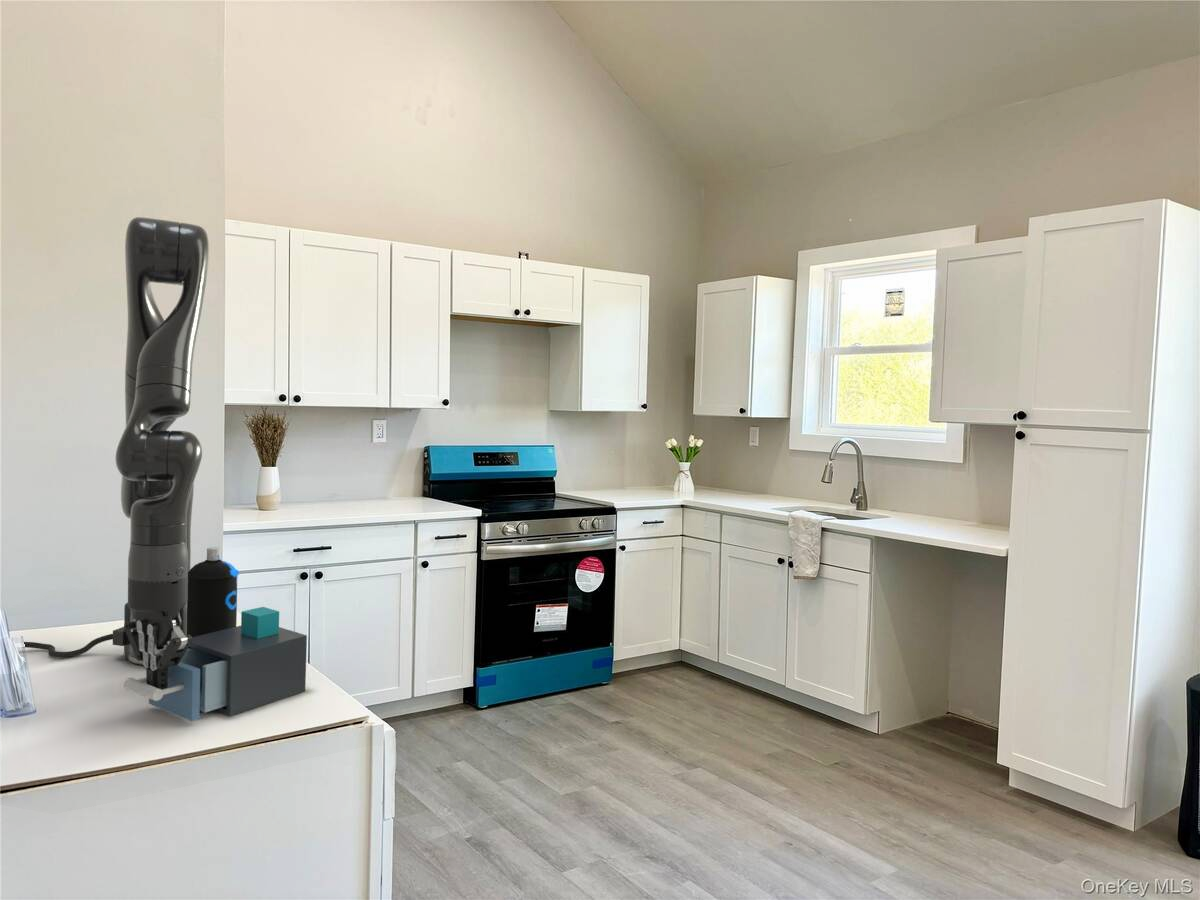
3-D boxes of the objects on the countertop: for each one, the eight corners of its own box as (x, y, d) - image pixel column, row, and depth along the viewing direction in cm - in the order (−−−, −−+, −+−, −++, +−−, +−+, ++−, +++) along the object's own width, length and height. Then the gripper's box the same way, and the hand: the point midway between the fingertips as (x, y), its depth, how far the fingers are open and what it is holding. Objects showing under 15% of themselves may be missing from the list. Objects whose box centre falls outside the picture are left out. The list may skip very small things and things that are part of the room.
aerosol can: (185, 674, 146) (187, 554, 144) (183, 659, 153) (184, 544, 151) (239, 669, 149) (242, 552, 148) (235, 654, 157) (237, 542, 155)
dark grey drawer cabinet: (229, 716, 130) (231, 656, 129) (182, 697, 136) (182, 639, 135) (305, 691, 142) (306, 635, 141) (258, 674, 148) (259, 620, 147)
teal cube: (257, 639, 137) (257, 616, 137) (240, 634, 139) (241, 611, 139) (278, 633, 141) (279, 611, 140) (262, 628, 143) (263, 606, 143)
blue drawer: (159, 732, 121) (160, 680, 121) (116, 713, 127) (116, 663, 126) (266, 696, 136) (267, 650, 135) (224, 681, 141) (224, 636, 141)
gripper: (104, 569, 125) (103, 690, 126) (161, 585, 118) (159, 712, 119) (155, 561, 131) (154, 676, 133) (212, 576, 124) (209, 697, 126)
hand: (156, 693), depth 126 cm, fingers closed
